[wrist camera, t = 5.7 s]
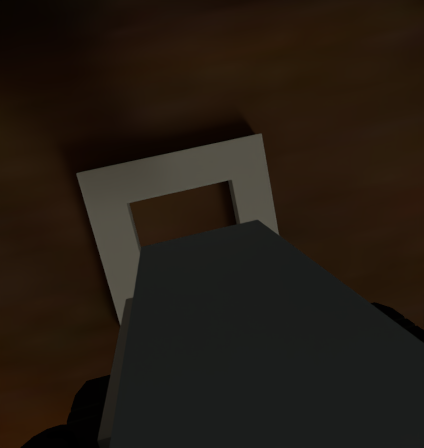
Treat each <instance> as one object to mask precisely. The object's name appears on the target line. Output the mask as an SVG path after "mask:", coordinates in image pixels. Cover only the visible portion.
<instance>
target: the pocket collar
mask: <svg viewBox="0 0 424 448" xmlns="http://www.w3.org/2000/svg"><path fill="white" fill-rule="evenodd" d="M76 175H77V178H78V181H79V185H80V188H81V192H82V195H83V199H84V202H85V205H86V209H87V212H88V216H89V219H90V223H91V226H92V230H93V233H94V236H95V240H96V243H97V247H98V250H99V254H100V257H101V260H102V264H103V267H104V271H105V274H106V278H107V281H108V285H109V288H110V291H111V295H112V298H113V302H114V305H115V309H116V312H117V316H118V319H119V322H120V326H121V321H122V316H123V311H124V306H125V301H126V299H128V298H132V297H133V295H134V289H135V282H136V276H137V270H138V263H139V257H140V251H141V247H140V243H139V239H138V235H137V231H136V228H135V224H134V220H133V216H132V212H131V209H130V205H129V203H130V202H135V201H139V200H144V199H148V198H152V197H157V196H161V195H166V194H170V193H175V192H179V191H183V190H188V189H192V188H197V187H201V186H206V185H210V184H214V183H219V182H223V181H228V183H229V188H230V193H231V198H232V203H233V208H234V213H235V218H236V223H237V224H241V223H245V222H249V221H253V220H259V221H260V222H262V223H263V224H264V225H266V226H267V227H268V228H270V229H271V230H272V231H274V232H275V233H277V234H278V235H279V233H278V227H277V221H276V216H275V210H274V204H273V198H272V192H271V186H270V180H269V175H268V169H267V163H266V157H265V151H264V145H263V140H262V134H255V135H250V136H246V137H241V138H236V139H232V140H227V141H222V142H218V143H213V144H208V145H204V146H199V147H195V148H190V149H185V150H181V151H176V152H171V153H167V154H162V155H157V156H153V157H148V158H143V159H139V160H134V161H129V162H125V163H120V164H115V165H111V166H106V167H101V168H97V169H92V170H87V171H83V172H79V173H76Z"/></svg>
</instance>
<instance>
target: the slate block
mask: <svg viewBox="0 0 424 448" xmlns="http://www.w3.org/2000/svg"><path fill="white" fill-rule="evenodd" d="M109 448H424V343H423V342H422V341H420V340H419V339H418V338H416V337H415V336H414V335H412V334H411V333H410V332H408V331H407V330H406V329H404V328H403V327H401V326H400V325H399V324H397V323H396V322H395V321H393V320H392V319H391V318H389V317H388V316H387V315H385V314H384V313H383V312H381V311H380V310H379V309H377V308H376V307H375V306H373V305H372V304H371V303H369V302H368V301H367V300H365V299H364V298H363V297H361V296H360V295H358V294H357V293H356V292H354V291H353V290H352V289H350V288H349V287H348V286H346V285H345V284H344V283H342V282H341V281H340V280H338V279H337V278H336V277H334V276H333V275H332V274H330V273H329V272H328V271H326V270H325V269H324V268H322V267H321V266H320V265H318V264H317V263H315V262H314V261H313V260H311V259H310V258H309V257H307V256H306V255H305V254H303V253H302V252H301V251H299V250H298V249H297V248H295V247H294V246H293V245H291V244H290V243H289V242H287V241H286V240H285V239H283V238H282V237H281V236H279V235H278V234H277V233H275V232H274V231H272V230H271V229H270V228H268V227H267V226H266V225H264V224H263V223H262V222H260V221H259V220H253V221H249V222H245V223H241V224H237V225H232V226H228V227H224V228H220V229H215V230H211V231H207V232H203V233H199V234H194V235H190V236H186V237H182V238H178V239H173V240H169V241H165V242H161V243H157V244H152V245H148V246H144V247H141V251H140V257H139V263H138V270H137V276H136V282H135V289H134V295H133V301H132V307H131V314H130V320H129V326H128V333H127V339H126V345H125V352H124V358H123V364H122V370H121V377H120V383H119V389H118V396H117V402H116V408H115V415H114V421H113V427H112V433H111V440H110V446H109Z"/></svg>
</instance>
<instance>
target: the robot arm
mask: <svg viewBox="0 0 424 448" xmlns="http://www.w3.org/2000/svg"><path fill="white" fill-rule="evenodd" d="M132 301H133V297H132V298H128V299H126V301H125V306H124V311H123V316H122V321H121V326H120V331H119V336H118V341H117V346H116V351H115V355H114V360H113V365H112V370H111V375H107V376H103V377H100V378H96V379H92V380H89V381H86V383H85V384H84V385H83V386H82V388H81V389H80V390H79V391H78V393H77V394H76V395H75V398H74V401H73V404H72V407H71V412H70V413H69V416H68V419H67V425H58V426H55V427H52V428H49V429H46V430H45V431H43V432H41V433H39V434H38V435H36V436H34V437H33V438H31V439H30V440H29V441H28V442H27V443H25V444H24V445H23V446H22V447H21V448H109V446H110V440H111V433H112V427H113V421H114V415H115V408H116V402H117V396H118V389H119V383H120V377H121V370H122V364H123V358H124V352H125V345H126V339H127V333H128V326H129V320H130V314H131V307H132ZM371 304H372V305H373V306H375V307H376V308H377V309H379V310H380V311H381V312H383V313H384V314H385V315H387V316H388V317H389V318H391V319H392V320H393V321H395V322H396V323H397V324H399V325H400V326H401V327H403V328H404V329H406V330H407V331H408V332H410V333H411V334H412V335H414V336H415V337H416V338H418V339H419V340H420V341H422V342H423V343H424V330H423V329H421V328H420V327H418V326H415V324H414V323H413V322H411V321H410V320H408V319H407V318H406V319H405V318H404V316H403V315H401V314H400V313H398V312H397V311H395V310H394V309H393V308H390V307H387V306H384V305H381V304H378V303H375V302H374V303H371Z"/></svg>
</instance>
